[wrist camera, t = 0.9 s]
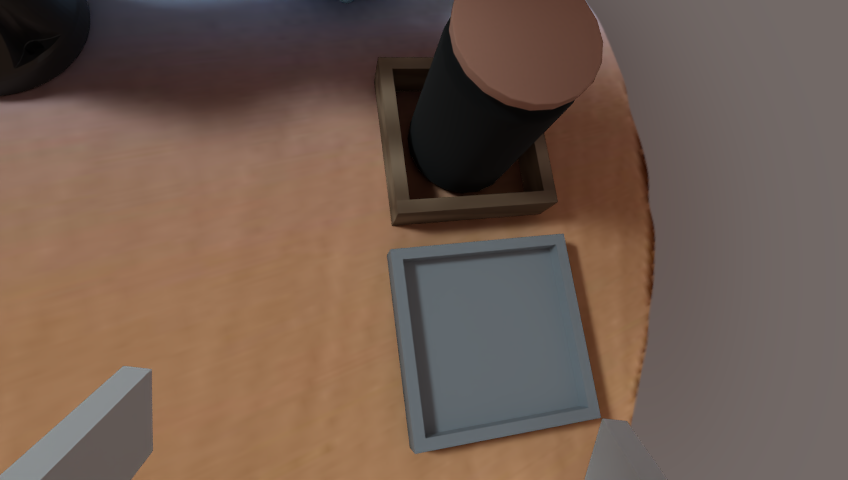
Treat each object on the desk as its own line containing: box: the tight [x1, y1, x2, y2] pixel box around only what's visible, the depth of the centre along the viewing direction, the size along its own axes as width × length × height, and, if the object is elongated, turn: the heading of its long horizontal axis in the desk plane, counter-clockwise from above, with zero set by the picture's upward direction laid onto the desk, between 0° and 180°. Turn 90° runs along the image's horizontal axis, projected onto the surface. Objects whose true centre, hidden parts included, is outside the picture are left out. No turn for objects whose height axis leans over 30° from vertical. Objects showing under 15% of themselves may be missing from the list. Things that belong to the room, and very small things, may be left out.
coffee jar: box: [408, 0, 603, 193], centre depth 38 cm, size 11×11×18 cm
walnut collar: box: [374, 57, 558, 226], centre depth 45 cm, size 15×15×4 cm
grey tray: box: [387, 234, 601, 454], centre depth 42 cm, size 17×17×2 cm
